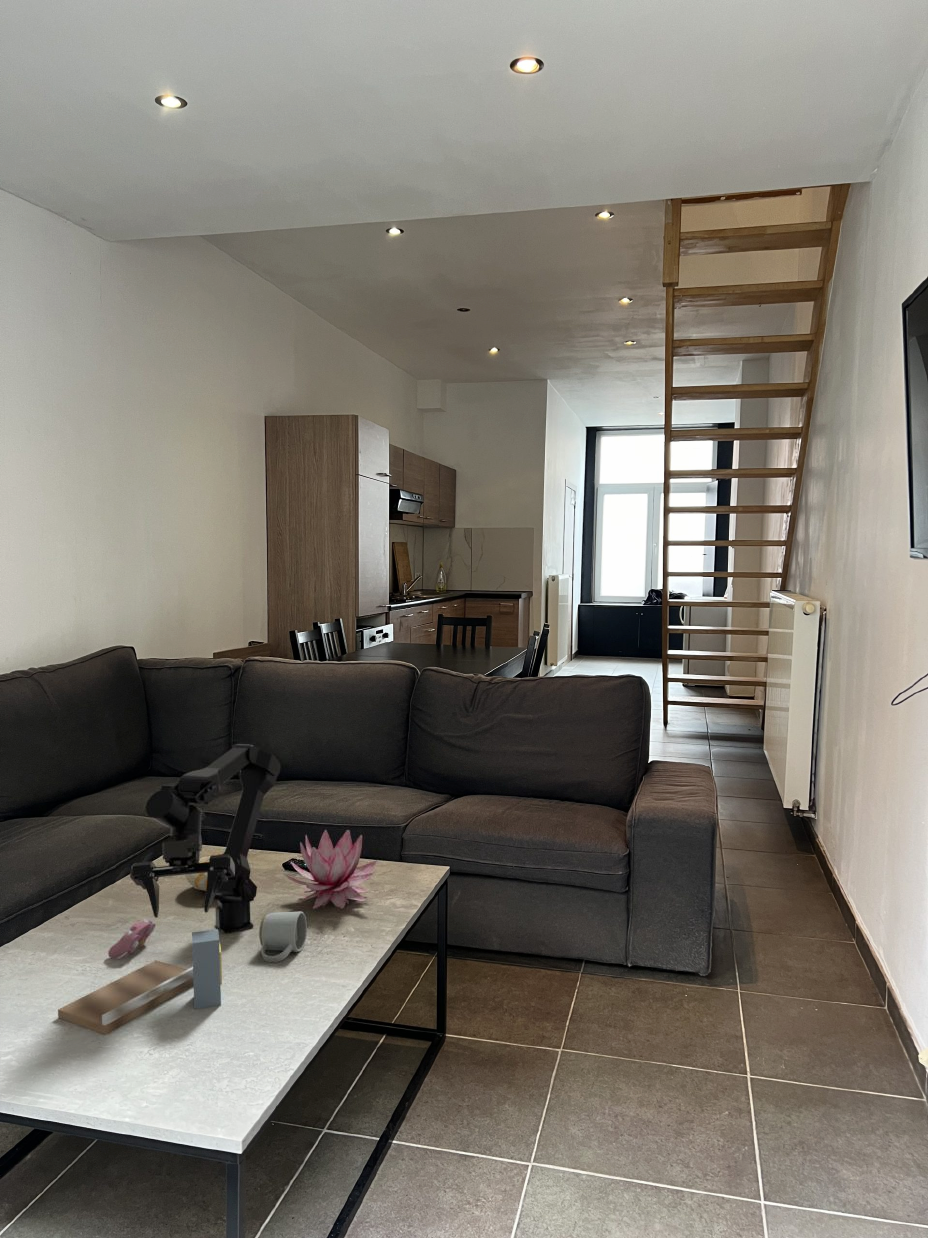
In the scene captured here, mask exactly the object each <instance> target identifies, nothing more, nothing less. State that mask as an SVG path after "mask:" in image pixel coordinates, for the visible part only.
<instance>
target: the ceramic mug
mask: <svg viewBox="0 0 928 1238" xmlns="http://www.w3.org/2000/svg"><path fill="white" fill-rule="evenodd" d="M307 924H308V923H307V917H306V914H305V913H304V912H303V911H290V912H289V911H286V912H285V911H282V912H271V913H267V914H265V915H264V916H263V918H262V919H261V921H260V924H259V930H258V931H259V933H258V937H259V943H260V946H261V948H260V951H261V955H262V958H263V959H264V960H265V961H266V962H267V963H268V962H269V963H278V962H281V961H282V960H284V959H286V958H287V957H288V956H289V955H290V953H291V952H295V953H299V952H302V950H303V948H304V947H305V944H306V940H307V931H308V926H307ZM266 950H269V951H281V952H280V953H279V954H277V955H274V956H273V955H272V956H270V955H267V954H266V953H265V952H266Z"/></svg>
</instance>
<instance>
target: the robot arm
mask: <svg viewBox="0 0 928 1238" xmlns="http://www.w3.org/2000/svg"><path fill="white" fill-rule="evenodd" d="M280 772H281V762H280V761H279V760H278V758H277V757H276V755H273V754H271V753H268V752H266V751H264V750H261V749H259V748H258V747H257V746H255V745H253V744H248V743H247V744H246V743H236V744H233V745H232V746H231V748H230V749H229V750H228V751H227V752H225V753H224V754H223V755H222V756H220V757H219V758H217V759H215V760H214V761H213V762H212V763H211V764H209V765H207V766H206V767H204V768H201V769H196V770H191V771H189V772H187V773H185V774H183V775H181V777H180V778H179V779H178V781H176V783H175V784H173V785H168V784H162V785H161V788H160V790H158V791H156V792H154V793H153V794H152V795H151V796H150V798H149V799H147V801H146V804H145V811H146V814H147V816H148V817H150V818H152V819H153V820H155V821H156V822H158V823H160V824H161V825H163V826H165V827H166V828H170V835H169V838H168V841H164V842H162V860H164V862H165V864H168V865H165V866H157V865H156V864H155V862H154V861H143V862H134V864H132V865H131V868H130V871H129V872H130V873H129V878H130V879H131V880H132V881H133V883H134V884H135V885H136V886H139V887H141V889H143V890H146V892H147V895H148V899H149V901H150V906H151V910H152V913H153V916H154V918H157V919H158V916H159V911H160V910H159V909H160V885H159V884H158V881H159V878H165V877H166V878H167V877H172V876H185V875H186V874H196V873H206V872H207V888H206V891H205V897H204V903H203V906H204V910H203V911H204V912H205V913H208V912H209V910H210V908H211V906H212V903H213V901H217V906H215V926H216V927H217V929H218V928H219V930H221V932H222V933H223V934H230V933H234V932H239V931H242V930H246V929H250V928H253V927H254V924H253V922H252V921H251V902H253V901H255V898H256V897H257V892H258V891H257V890H258V886H257V885H256V884H255V883H254V882H253V880H252V879H251V878H250V877H251V868H250V863H249V861H248V855H249V850H250V848H251V844H252V841H253V836H254V833H255V829H256V826H257V822H258V820H259V816H260V811H261V808H262V805H263V801H264V797H265V795H266V794H267V793H268V792H269V791H270V790H271V789H272V788H273V787H274V786H275V784H276V783H277V779H278V776H279V774H280ZM237 773H239V781H240V784H241V787H242V792H241V796H240V798H239V802H238V805H237V808H236V812H235V815H234V819H233V823H232V825H231V829H230V833H229V836H228V839H227V844H226V847H225V849H224V852H223V853H221V854H222V855H217V854H216V855H215V854H214V855H213V856H212V855H209V856H210V859H209V862H204V863H199V859H200V854H201V852H202V851H203V839H202V820H206V818H207V815H206V814H205V812H204V811H203V810H202V809H201V807H200V806H195V805H193V804H196V805H210V804H212V802H214V800H216V798H217V797H218V796H219V794H220V793H221V787H222V786H223V784H225V783H226V782H227V781H229V780H230V779H231V778H232V777H234V775H236V774H237Z"/></svg>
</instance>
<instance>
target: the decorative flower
mask: <svg viewBox="0 0 928 1238" xmlns="http://www.w3.org/2000/svg"><path fill="white" fill-rule="evenodd" d="M299 846H300V853H301V857H302V859H303V862H304V864H305V865H306V868H307V869H308V870H309V872H308V871H307V870H305V869H302V868H301V867H299V866H298V865H297V864H296V863H294V862H292V861H290V865H292V867H293V868H294V869H295V870H296V872H297V873H299V875H301V877H303V878H305V879H307V880H309V881H310V882H307V881H303V880H298V879H296V878H293V877H292V876H289V875H287V874H284V876H285V877H286V878H288V879H289V880H290V881H293V882H295V883H296V884H299V885H304V886H305V888H307V889H308V890H300V892H302V893H304V894H305V893H306V894H307V893H311V892H312V893H311V894H309V895H308V896H305V897H304V898H301V899H299V900H297V902H306V901H309V900H311V899H312V898H315V897H316V900H315V902H314V905H313V907H312V910H313V909H317V908H319V907H321V906H322V908H324V907H326V905H327V904H329V902H330V901H331V903H332V904H333V905H334V906H335V907H336V908H341V909H343V908H344V907H345V905H346V904H350V903H349V900H352V901H353V900H355V901H361V902H362V901H363V902H364V901H366V898H365V897H364V896H363V895H361V894H360V893H363V892H367V891H369V889H368V888H363V887H359V886H360V885H361V884H363V883H365V882H366V881H368V880H370V878H372V876H373V875H375V874H376V872H375V871H374V872H372V871H373V870H374V868H375V866H376V865H377V864H378V862H379V859H377V860H374V861H371V862H369V863H365V864H363V865H360V866H358V865H359V862H360V857H361V854H362V849H363V848H362V847H363V835H362V834H360V835H359V837H358V838H357V839H356V840H355V842H354V843H353V841H352V836H351V831H350V830H348V829H347V830H346V831H345V832H344V834H343V835H342V836H341V837H340V839H339V840H338V841H337V843H336V845H335V847H334V845H333V843H332V840H331V838H330V834H329V833H328V831H327V829H325V830H324V831H323V833H322V835H321V838H320V841H319V844H318V846H317V847H318V848H316V847H314V846H313V847H312V845H311V843H310V841H309V838H308V836H307V834H305V846H304V844H303V843H302V842H301V841H300V842H299ZM371 872H372V873H371Z"/></svg>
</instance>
